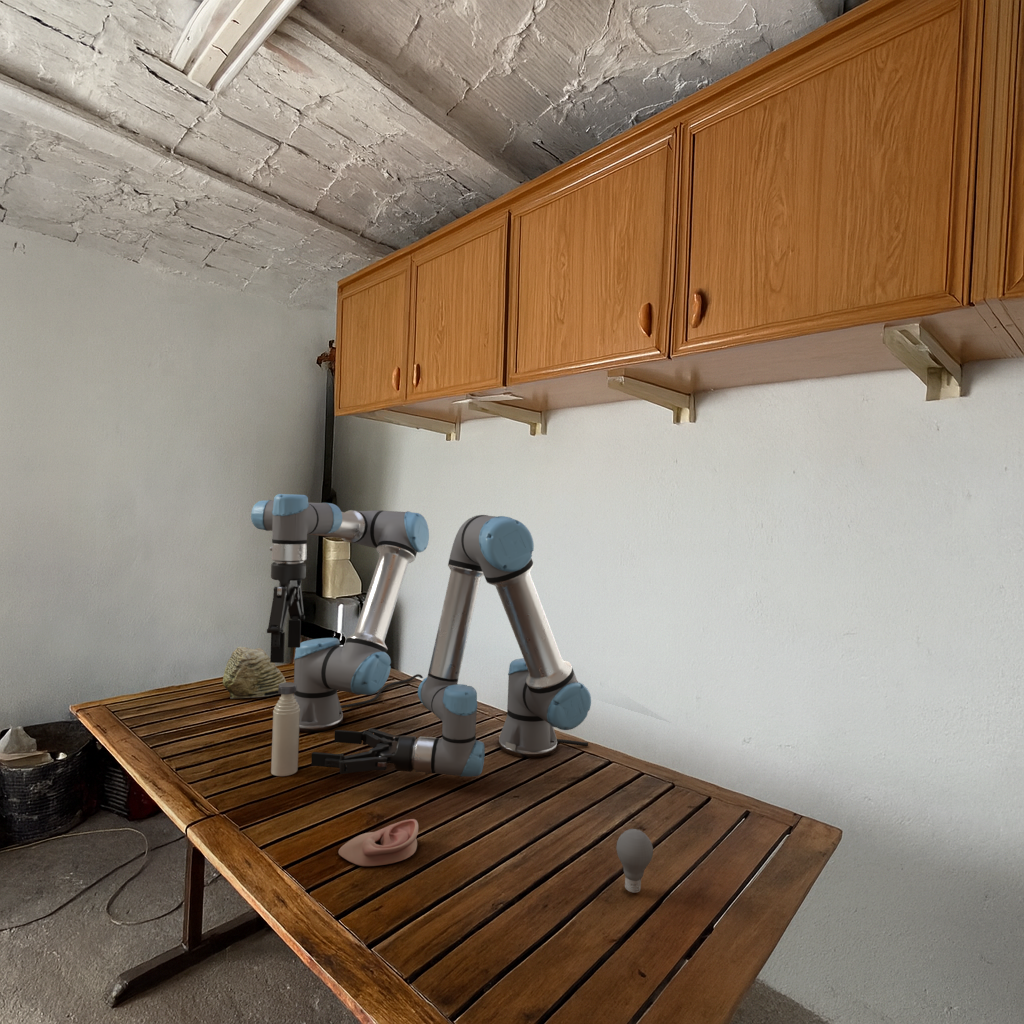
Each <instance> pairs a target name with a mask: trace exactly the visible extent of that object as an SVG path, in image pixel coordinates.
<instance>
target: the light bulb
mask: <svg viewBox="0 0 1024 1024" xmlns="http://www.w3.org/2000/svg"><path fill="white" fill-rule="evenodd" d="M615 849H616V854H617V857H618V859H619V861H620V863H621V865H622V867H623V873H624V874H623V875H624V876H625V878H624V888H625V890H627V891H628V892H630V893H634V894H635V893H639V892H640V891H641V889H642V887H641V886H642V879H643V877H644V875H645V871H646V868H647V867H648V866H649V864H650V863H651V861H652V859H653V855H654V847H653V843H652V841H651V838H649V836H648V835H647V834H646V833H645V832H643V831H642V830H641V829H636V828H629V829H627V830H625V831H623V832H622V833H621V834H620V835H619V837H618V839H617V841H616V847H615Z"/></svg>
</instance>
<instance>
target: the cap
mask: <svg viewBox="0 0 1024 1024" xmlns="http://www.w3.org/2000/svg"><path fill="white" fill-rule="evenodd" d="M296 690H297V686H296V683H294V681H293V682H291V681H286V682H285V683H281V684H279V688H278V692H279V693H280V694H279V695H281V694H293V695H294V693H295V692H296Z"/></svg>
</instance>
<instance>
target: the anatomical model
mask: <svg viewBox="0 0 1024 1024" xmlns="http://www.w3.org/2000/svg"><path fill="white" fill-rule="evenodd" d="M418 834H419V822H418V820H417V819H415V818H410V819H409V818H408V819H403V820H401V821H398V822H394V823H391V824H390V825H387V826H385V827H383V828H380V829H377V830H375V831H369V832H365V833H362V834H359V835H357V836H355V837H353V838H351V839H350V840H348V841H347V842H346V843H344V844H343V845H342V846H341V847H340V848H339V849H338V852H337V853H338V855H339V856H340V857H341V858H343V859H344V860H346V861H347V862H349V863H352V864H354V865H356V866H359V867H376V866H384V865H391V864H395V863H398V862H402V861H404V860H407V859H408V858H410V857H411V856H413V855H414V854H415V853H416V851H417V849H418V839H417V836H418Z"/></svg>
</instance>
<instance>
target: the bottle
mask: <svg viewBox="0 0 1024 1024" xmlns="http://www.w3.org/2000/svg"><path fill="white" fill-rule="evenodd" d="M299 725H300V708H299V705H298V702H296V699H295V697H294V693H293V694H280V696H279V699H278V700H277V702H276V704H275V706H274V707H273V710H272V729H271V730H272V733H271V734H272V735H271V757H270V758H271V759H270V761H271V762H270V774H271V775H273V776H276V777H288V776H291V775H294V774H296V773H297V772H298V770H299V747H300V746H299V745H300V731H299Z"/></svg>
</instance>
